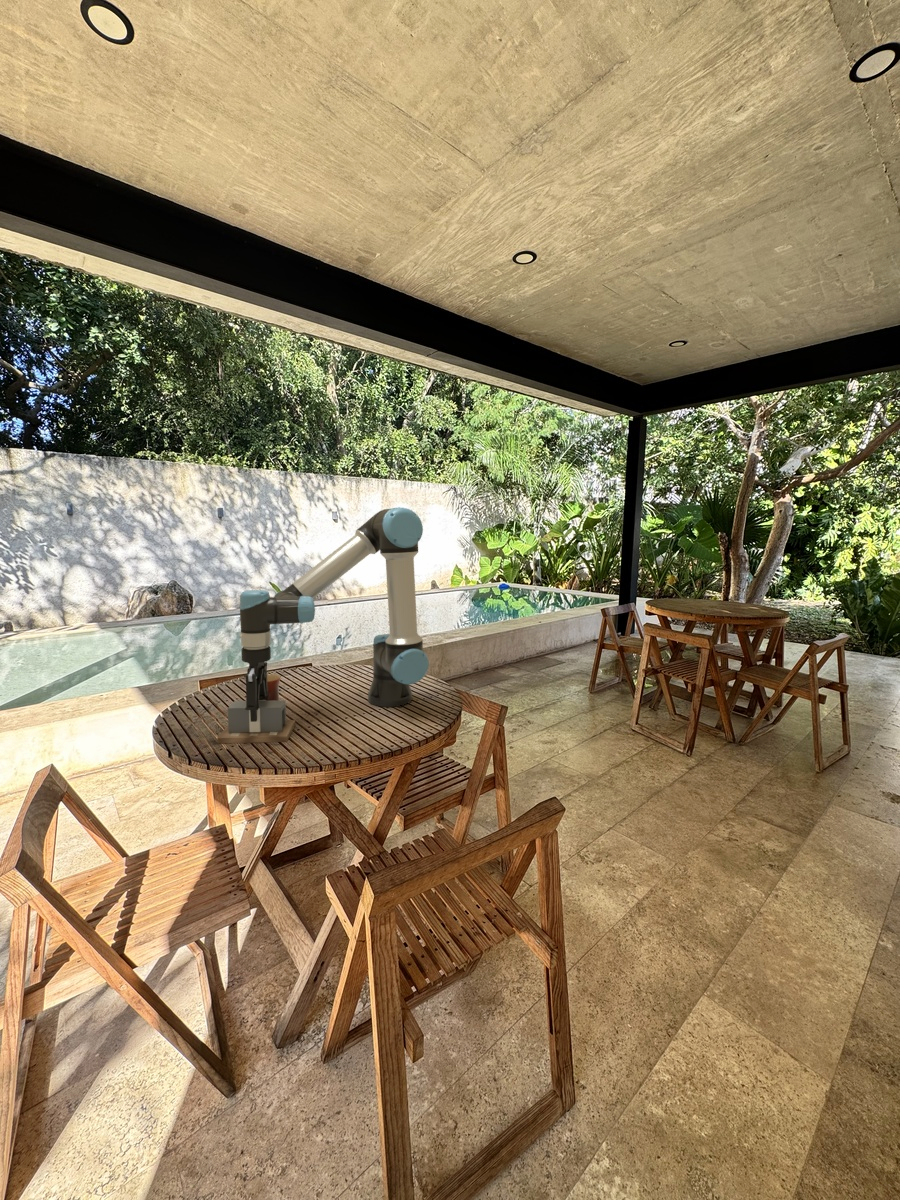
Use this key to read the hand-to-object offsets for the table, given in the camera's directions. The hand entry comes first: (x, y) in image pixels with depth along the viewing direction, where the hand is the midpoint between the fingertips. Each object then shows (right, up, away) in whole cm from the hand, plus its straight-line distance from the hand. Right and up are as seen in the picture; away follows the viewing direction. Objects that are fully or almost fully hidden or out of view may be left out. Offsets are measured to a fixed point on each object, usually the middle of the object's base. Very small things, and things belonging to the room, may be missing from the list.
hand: (258, 726), depth 138 cm
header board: (0, -2, 0) cm, 2 cm away
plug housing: (0, 0, 0) cm, 0 cm away
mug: (-5, 0, +19) cm, 19 cm away
